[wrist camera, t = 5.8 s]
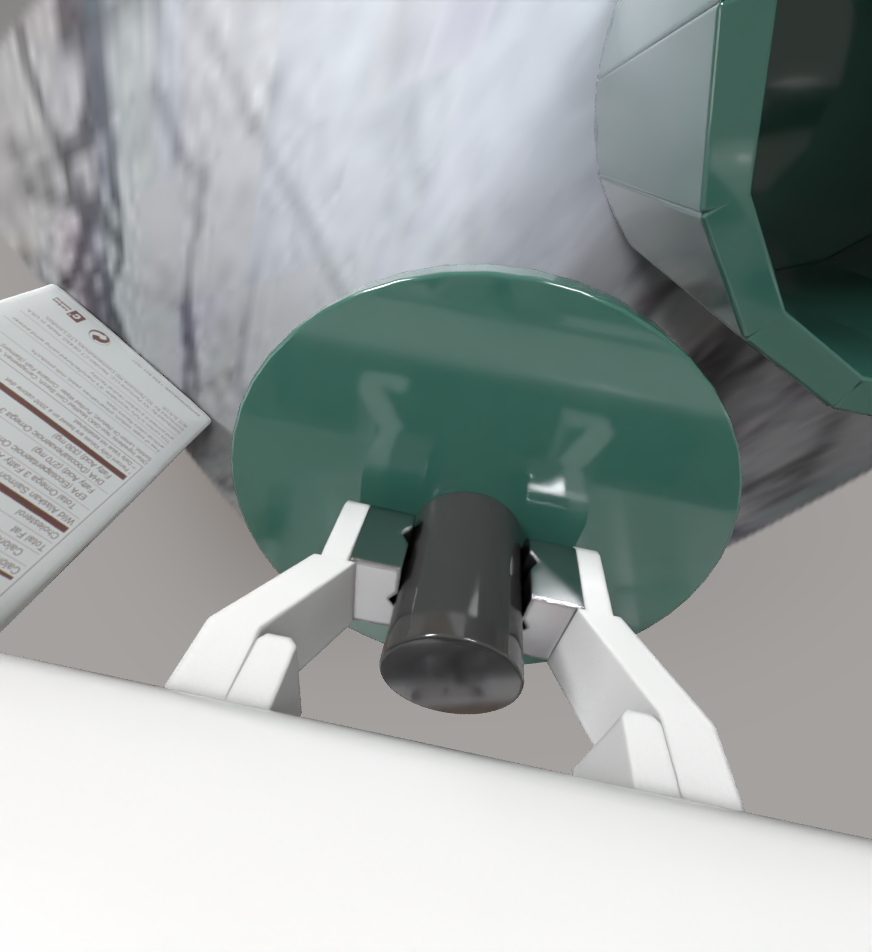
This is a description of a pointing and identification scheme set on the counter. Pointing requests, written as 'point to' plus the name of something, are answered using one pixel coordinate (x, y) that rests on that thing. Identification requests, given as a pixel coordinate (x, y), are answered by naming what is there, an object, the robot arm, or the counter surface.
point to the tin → (751, 171)
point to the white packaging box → (73, 436)
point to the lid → (489, 459)
